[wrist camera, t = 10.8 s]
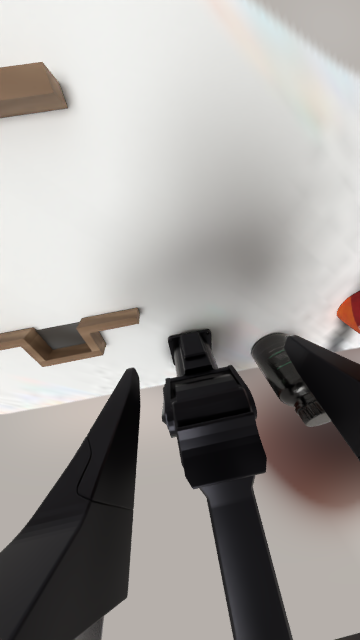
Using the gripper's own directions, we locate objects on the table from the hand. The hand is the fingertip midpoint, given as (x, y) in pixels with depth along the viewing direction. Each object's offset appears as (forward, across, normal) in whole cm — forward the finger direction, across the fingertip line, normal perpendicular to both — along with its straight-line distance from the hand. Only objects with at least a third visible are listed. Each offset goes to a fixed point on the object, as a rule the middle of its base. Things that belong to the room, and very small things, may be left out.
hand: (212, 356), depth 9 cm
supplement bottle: (+12, -14, +16) cm, 25 cm away
